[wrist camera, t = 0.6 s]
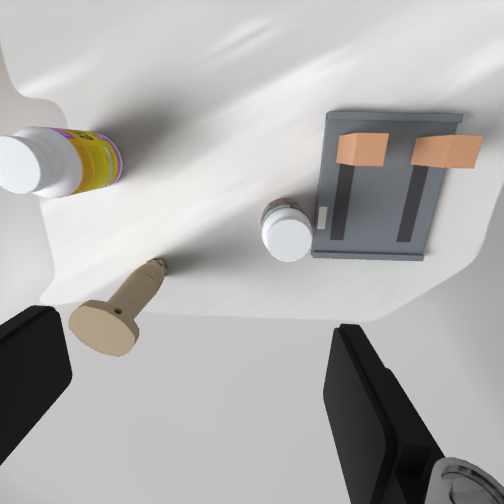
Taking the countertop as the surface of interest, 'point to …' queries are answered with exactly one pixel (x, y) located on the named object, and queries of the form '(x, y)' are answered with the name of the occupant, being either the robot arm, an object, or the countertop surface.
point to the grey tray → (378, 189)
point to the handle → (118, 312)
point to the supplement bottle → (57, 161)
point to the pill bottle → (286, 230)
